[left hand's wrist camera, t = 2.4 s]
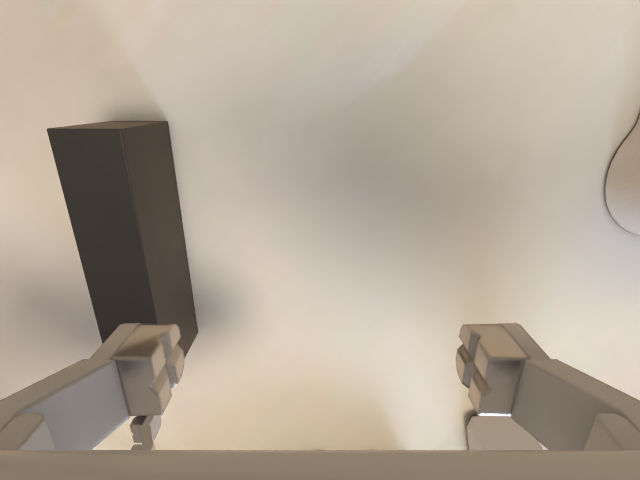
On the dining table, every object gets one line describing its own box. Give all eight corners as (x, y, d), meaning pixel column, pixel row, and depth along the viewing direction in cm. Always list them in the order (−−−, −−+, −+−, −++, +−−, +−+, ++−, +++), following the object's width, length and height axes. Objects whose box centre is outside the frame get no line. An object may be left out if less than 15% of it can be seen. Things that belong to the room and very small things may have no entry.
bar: (111, 121, 37) (46, 128, 28) (167, 121, 37) (120, 128, 28) (152, 332, 46) (113, 387, 37) (198, 332, 46) (169, 387, 37)
